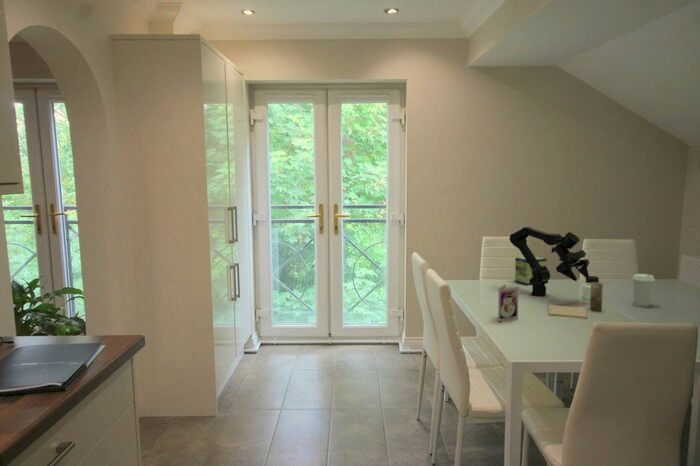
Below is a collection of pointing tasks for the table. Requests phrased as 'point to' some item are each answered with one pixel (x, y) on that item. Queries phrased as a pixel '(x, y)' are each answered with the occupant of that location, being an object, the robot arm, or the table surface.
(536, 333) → the table surface
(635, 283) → the coffee cup
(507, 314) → the greeting card
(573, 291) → the table surface
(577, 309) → the beige square board
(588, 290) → the medicine bottle
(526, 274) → the protein box
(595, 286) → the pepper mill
